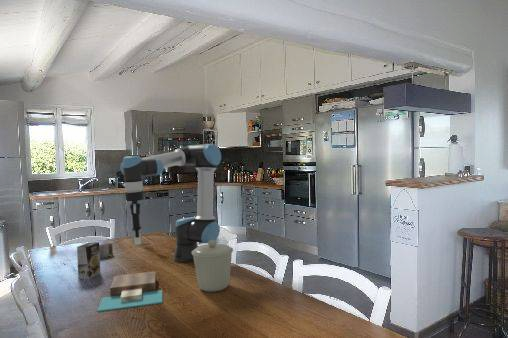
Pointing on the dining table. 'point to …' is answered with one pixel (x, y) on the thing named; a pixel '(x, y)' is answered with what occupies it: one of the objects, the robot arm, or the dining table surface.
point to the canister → (212, 266)
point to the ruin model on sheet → (106, 250)
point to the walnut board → (133, 282)
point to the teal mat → (116, 303)
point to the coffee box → (88, 260)
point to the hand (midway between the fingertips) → (137, 243)
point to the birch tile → (131, 295)
